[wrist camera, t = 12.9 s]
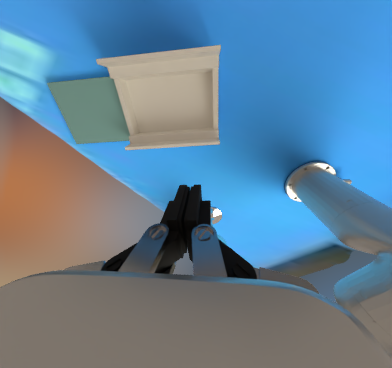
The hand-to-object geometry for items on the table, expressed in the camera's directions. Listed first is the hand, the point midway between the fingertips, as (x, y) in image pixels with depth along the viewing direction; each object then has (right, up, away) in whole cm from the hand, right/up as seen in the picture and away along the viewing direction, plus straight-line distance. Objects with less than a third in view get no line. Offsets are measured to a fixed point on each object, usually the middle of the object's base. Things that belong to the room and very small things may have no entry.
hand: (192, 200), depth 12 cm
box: (-5, +19, +21) cm, 29 cm away
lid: (-23, +19, +23) cm, 38 cm away
